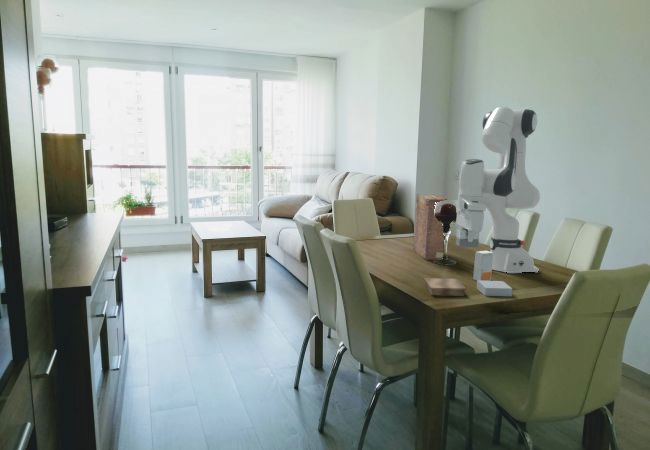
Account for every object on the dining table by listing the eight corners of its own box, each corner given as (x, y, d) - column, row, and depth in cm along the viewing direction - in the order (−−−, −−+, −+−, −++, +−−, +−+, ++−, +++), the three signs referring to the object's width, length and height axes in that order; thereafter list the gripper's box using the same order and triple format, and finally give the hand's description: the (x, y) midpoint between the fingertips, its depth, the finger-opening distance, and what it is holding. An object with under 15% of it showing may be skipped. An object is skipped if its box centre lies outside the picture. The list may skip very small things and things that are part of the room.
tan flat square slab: (456, 286, 187) (457, 278, 186) (465, 296, 174) (466, 288, 173) (423, 285, 187) (424, 278, 186) (430, 295, 174) (431, 287, 174)
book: (413, 249, 256) (416, 194, 251) (430, 249, 256) (433, 194, 251) (425, 260, 231) (428, 199, 226) (444, 260, 231) (447, 199, 226)
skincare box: (480, 281, 194) (482, 253, 192) (472, 279, 198) (475, 251, 196) (491, 280, 196) (493, 252, 194) (484, 278, 200) (486, 250, 198)
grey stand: (502, 288, 185) (502, 281, 185) (511, 296, 175) (512, 288, 175) (476, 287, 185) (477, 280, 185) (484, 295, 175) (485, 287, 175)
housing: (474, 244, 179) (475, 229, 178) (478, 247, 175) (479, 231, 174) (455, 244, 179) (457, 228, 178) (459, 246, 175) (460, 230, 174)
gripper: (453, 200, 185) (451, 235, 187) (469, 205, 165) (467, 244, 167) (469, 201, 185) (467, 235, 187) (487, 206, 165) (484, 245, 167)
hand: (467, 240), depth 177 cm, fingers closed on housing, 4 cm apart
